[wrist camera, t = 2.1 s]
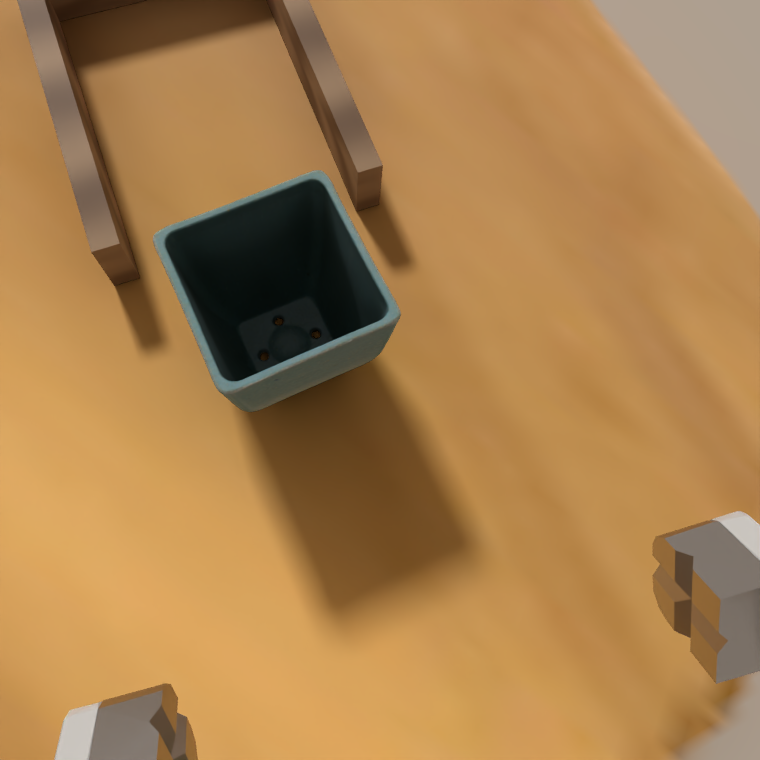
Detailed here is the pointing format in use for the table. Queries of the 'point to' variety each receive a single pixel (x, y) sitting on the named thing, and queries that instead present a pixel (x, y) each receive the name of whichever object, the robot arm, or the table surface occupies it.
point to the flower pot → (278, 290)
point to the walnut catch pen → (80, 147)
